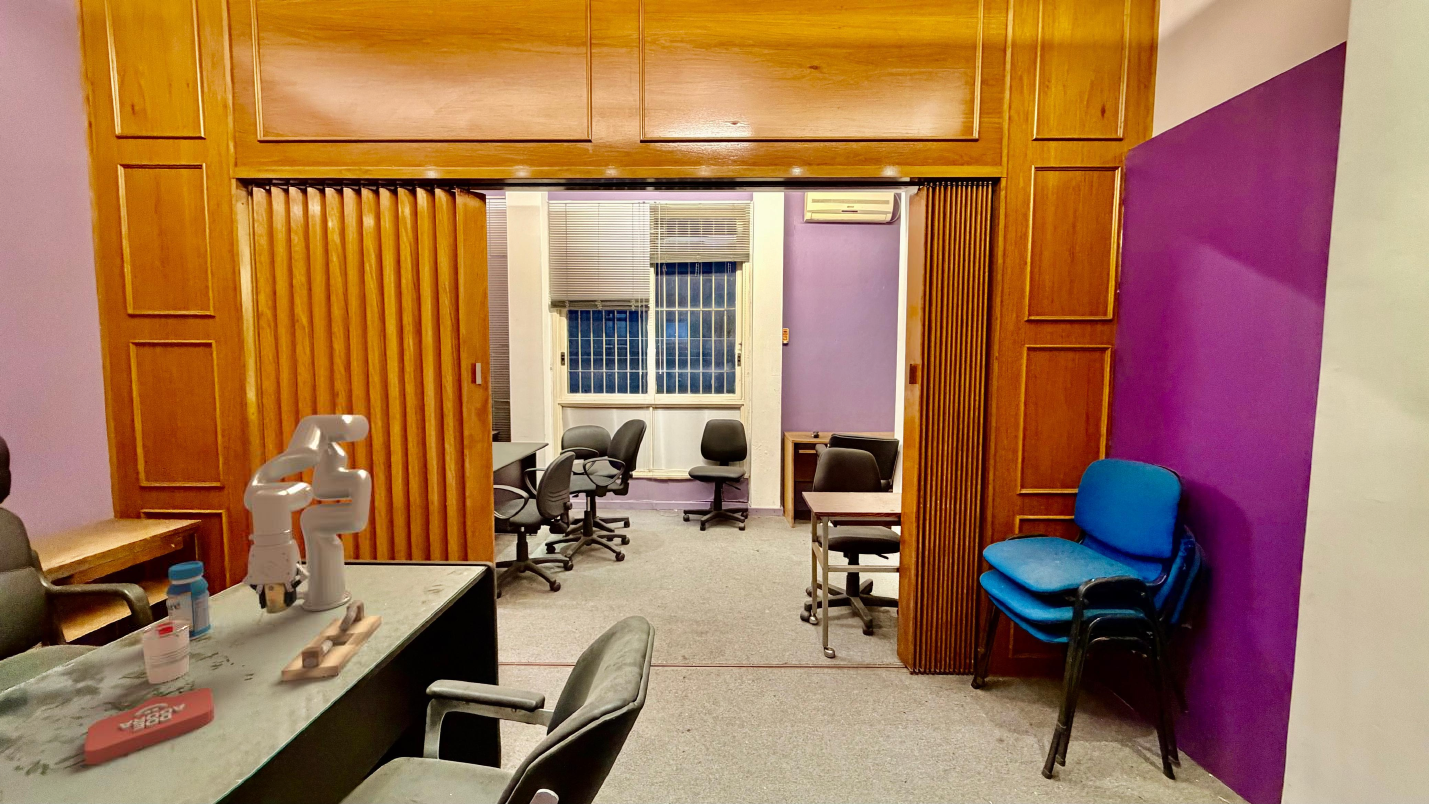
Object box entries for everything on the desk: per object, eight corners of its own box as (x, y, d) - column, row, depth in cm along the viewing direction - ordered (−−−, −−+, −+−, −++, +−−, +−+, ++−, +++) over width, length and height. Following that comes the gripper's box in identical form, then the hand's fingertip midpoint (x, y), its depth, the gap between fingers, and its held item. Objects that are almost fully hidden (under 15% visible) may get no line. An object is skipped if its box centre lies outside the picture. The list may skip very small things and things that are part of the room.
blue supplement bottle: (215, 633, 148) (210, 564, 146) (172, 646, 141) (166, 574, 139) (207, 624, 153) (203, 557, 151) (166, 636, 146) (160, 566, 144)
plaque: (209, 677, 122) (214, 707, 112) (210, 693, 122) (215, 724, 112) (90, 714, 109) (83, 751, 99) (91, 731, 109) (84, 770, 99)
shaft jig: (281, 680, 126) (279, 649, 126) (335, 626, 152) (334, 600, 151) (338, 675, 129) (336, 644, 128) (381, 622, 154) (380, 596, 154)
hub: (259, 615, 133) (257, 585, 133) (273, 604, 139) (271, 575, 138) (282, 614, 134) (280, 583, 134) (295, 603, 140) (293, 574, 139)
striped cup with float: (203, 669, 131) (200, 623, 130) (158, 689, 123) (154, 640, 122) (178, 662, 134) (175, 616, 133) (133, 681, 126) (129, 632, 125)
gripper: (224, 545, 130) (230, 615, 132) (303, 540, 133) (308, 609, 135) (244, 534, 137) (249, 601, 139) (319, 530, 141) (323, 596, 142)
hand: (278, 604), depth 137 cm, fingers closed on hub, 5 cm apart
